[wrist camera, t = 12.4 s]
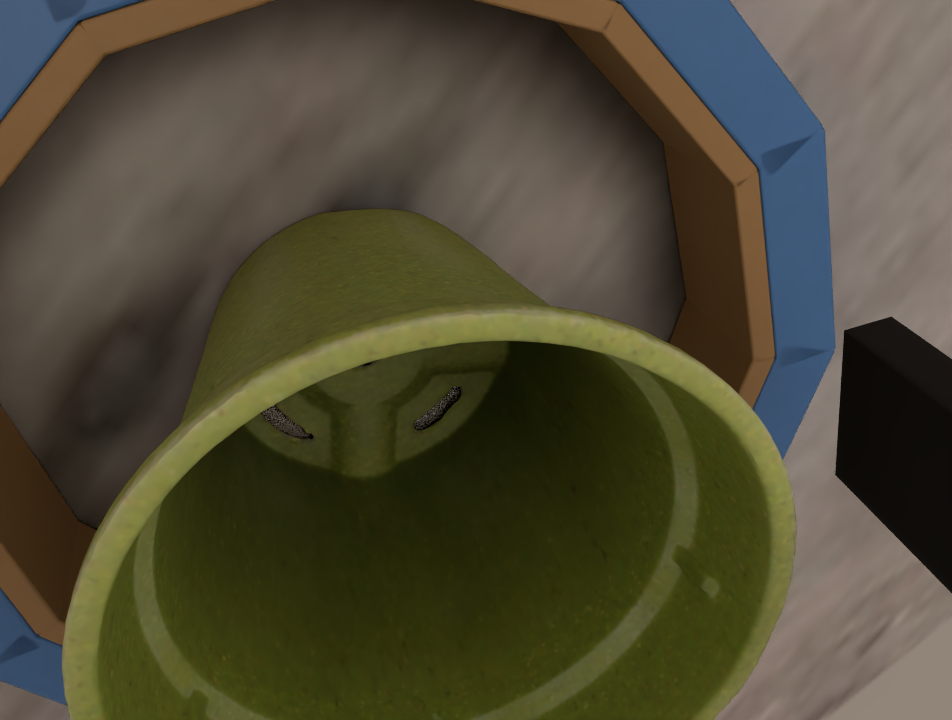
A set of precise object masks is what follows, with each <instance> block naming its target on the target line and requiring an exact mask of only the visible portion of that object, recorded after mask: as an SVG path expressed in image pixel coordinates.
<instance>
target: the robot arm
mask: <svg viewBox="0 0 952 720" xmlns="http://www.w3.org/2000/svg"><path fill="white" fill-rule="evenodd" d="M835 475H836V476H837V477H838V478H839V479H840V480H841V481H842V482H843V483H844V484H845V485H846V486H847V487H848V488H849V489H850V490H851V491H852V492H853V493H854V494H855V495H856V496H857V497H858V498H859V499H860V500H861V501H862V502H863V503H864V504H865V505H866V506H867V507H868V508H869V510H870V511H871V512H872V513H873V514H874V515H875V516H876V517H877V518H878V519H879V520H880V521H881V522H882V523H883V524H884V525H885V526H886V527H887V528H888V529H889V530H890V531H891V532H892V533H893V534H894V535H895V536H896V537H897V538H898V539H899V540H900V541H901V542H902V543H903V544H904V545H905V546H906V547H907V548H908V549H909V550H910V551H911V552H912V553H913V554H914V555H915V556H916V557H917V558H918V559H919V560H920V561H921V562H922V563H923V564H924V565H925V566H926V567H927V568H928V569H929V570H930V572H931V573H932V574H933V575H934V576H935V577H936V578H937V579H938V580H939V581H940V582H941V583H942V584H943V585H944V586H945V587H946V588H947V589H948V590H949V591H950V592H951V593H952V359H951V358H949V357H948V356H947V355H945V354H944V353H942V352H941V351H939V350H938V349H937V348H935V347H934V346H932V345H931V344H929V343H928V342H927V341H925V340H924V339H922V338H921V337H920V336H918V335H917V334H915V333H914V332H912V331H911V330H910V329H908V328H907V327H905V326H904V325H902V324H901V323H900V322H898V321H897V320H895V319H894V318H893V317H888V318H885V319H882V320H878V321H875V322H871V323H868V324H865V325H861V326H858V327H854V328H851V329H848V330H844V344H843V360H842V376H841V392H840V408H839V425H838V441H837V457H836V473H835Z"/></svg>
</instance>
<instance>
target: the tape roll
mask: <svg viewBox="0 0 952 720" xmlns="http://www.w3.org/2000/svg"><path fill="white" fill-rule="evenodd" d="M272 1H275V0H0V188H1V187H2V185H3V184H4V183H5V182H6V180H7V179H8V178H9V177H10V175H11V174H12V173H13V172H14V170H15V169H16V168H17V167H18V165H19V164H20V163H21V162H22V160H23V159H24V158H25V156H26V155H27V154H28V153H29V151H30V150H31V149H32V148H33V146H34V145H35V144H36V143H37V141H38V140H39V139H40V138H41V136H42V135H43V134H44V132H45V131H46V130H47V129H48V127H49V126H50V125H51V124H52V122H53V121H54V120H55V119H56V117H57V116H58V115H59V114H60V112H61V111H62V110H63V109H64V107H65V106H66V105H67V103H68V102H69V101H70V100H71V98H72V97H73V96H74V95H75V93H76V92H77V91H78V90H79V88H80V87H81V86H82V85H83V83H84V82H85V81H86V79H87V78H88V77H89V76H90V74H91V73H92V72H93V71H94V69H95V68H96V67H97V66H98V64H99V63H100V62H101V61H102V59H103V58H104V57H105V56H106V55H109V54H112V53H115V52H118V51H121V50H124V49H127V48H130V47H133V46H136V45H140V44H143V43H146V42H149V41H152V40H155V39H158V38H161V37H164V36H167V35H170V34H174V33H177V32H180V31H183V30H186V29H189V28H192V27H195V26H198V25H201V24H204V23H208V22H211V21H214V20H217V19H220V18H223V17H226V16H229V15H232V14H235V13H238V12H241V11H245V10H248V9H251V8H254V7H257V6H260V5H263V4H266V3H269V2H272ZM474 1H478V2H482V3H486V4H490V5H494V6H497V7H501V8H505V9H509V10H513V11H517V12H521V13H524V14H528V15H532V16H536V17H540V18H544V19H547V20H551V21H555V22H557V23H558V24H559V25H560V26H561V28H562V29H563V30H564V31H565V32H566V33H567V34H568V35H569V37H570V38H571V39H572V40H573V41H574V42H575V43H576V44H577V46H578V47H579V48H580V49H581V50H582V51H583V52H584V53H585V55H586V56H587V57H588V58H589V59H590V60H591V61H592V62H593V64H594V65H595V66H596V67H597V68H598V69H599V70H600V71H601V73H602V74H603V75H604V76H605V77H606V78H607V79H608V80H609V82H610V83H611V84H612V85H613V86H614V87H615V88H616V89H617V90H618V92H619V93H620V94H621V95H622V96H623V97H624V98H625V99H626V101H627V102H628V103H629V104H630V105H631V106H632V107H633V108H634V110H635V111H636V112H637V113H638V114H639V115H640V116H641V117H642V119H643V120H644V121H645V122H646V123H647V124H648V125H649V126H650V128H651V129H652V130H653V131H654V132H655V133H656V134H657V135H658V137H659V138H660V139H661V140H662V141H663V145H664V151H665V158H666V165H667V171H668V178H669V185H670V191H671V198H672V205H673V211H674V218H675V225H676V231H677V238H678V245H679V251H680V258H681V265H682V271H683V278H684V285H685V292H686V300H685V303H684V306H683V308H682V311H681V313H680V316H679V318H678V321H677V324H676V326H675V329H674V331H673V334H672V337H671V339H670V342H669V344H671V345H673V346H675V347H677V348H679V349H681V350H682V351H684V352H685V353H687V354H688V355H690V356H691V357H693V358H695V359H696V360H698V361H699V362H701V363H702V364H704V365H705V366H706V367H707V368H709V369H710V370H711V371H712V372H714V373H715V374H716V375H717V376H719V377H720V378H721V379H722V380H724V381H725V382H726V383H727V384H728V385H730V386H731V387H732V388H733V389H734V390H735V391H736V392H737V393H738V394H739V395H740V396H741V397H742V398H743V399H744V400H745V401H746V403H747V404H748V405H749V406H750V407H751V408H752V409H753V411H754V412H755V413H756V415H757V416H758V417H759V419H760V420H761V421H762V423H763V424H764V426H765V427H766V429H767V430H768V432H769V433H770V435H771V437H772V439H773V441H774V443H775V445H776V446H777V448H778V450H779V453H780V455H781V457H782V460H783V459H784V457H785V455H786V452H787V450H788V448H789V446H790V444H791V442H792V440H793V438H794V436H795V433H796V431H797V429H798V427H799V425H800V423H801V421H802V419H803V417H804V414H805V412H806V410H807V408H808V406H809V404H810V402H811V400H812V398H813V395H814V393H815V391H816V389H817V387H818V385H819V383H820V381H821V379H822V376H823V374H824V372H825V370H826V368H827V366H828V364H829V362H830V360H831V357H832V355H833V353H834V349H835V330H834V310H833V289H832V269H831V249H830V228H829V208H828V188H827V167H826V147H825V130H824V128H823V127H822V124H821V123H820V121H819V120H818V119H817V117H816V116H815V115H814V113H813V112H812V111H811V109H810V108H809V107H808V105H807V104H806V103H805V101H804V100H803V99H802V97H801V96H800V94H799V93H798V92H797V90H796V89H795V88H794V86H793V85H792V84H791V82H790V81H789V80H788V78H787V77H786V76H785V74H784V73H783V72H782V70H781V69H780V68H779V66H778V65H777V64H776V62H775V61H774V60H773V58H772V57H771V56H770V54H769V53H768V52H767V50H766V49H765V48H764V46H763V45H762V44H761V42H760V41H759V40H758V38H757V37H756V36H755V34H754V33H753V31H752V30H751V29H750V27H749V26H748V25H747V23H746V22H745V21H744V19H743V18H742V17H741V15H740V14H739V13H738V11H737V10H736V9H735V7H734V6H733V5H732V3H731V2H730V1H729V0H474ZM96 531H97V530H95V529H93V528H91V527H89V526H87V525H85V524H83V523H81V522H79V521H78V520H77V519H76V517H75V516H74V514H73V513H72V511H71V510H70V508H69V507H68V505H67V504H66V502H65V501H64V499H63V498H62V496H61V495H60V493H59V492H58V490H57V489H56V487H55V486H54V484H53V483H52V481H51V480H50V478H49V477H48V475H47V474H46V472H45V471H44V469H43V468H42V466H41V465H40V463H39V462H38V460H37V459H36V457H35V456H34V454H33V453H32V451H31V450H30V448H29V447H28V445H27V444H26V442H25V441H24V439H23V438H22V436H21V435H20V433H19V432H18V431H17V429H16V428H15V426H14V425H13V423H12V422H11V420H10V419H9V417H8V416H7V414H6V413H5V411H4V410H3V408H2V407H1V405H0V681H2V682H5V683H8V684H10V685H13V686H16V687H18V688H21V689H24V690H26V691H29V692H32V693H34V694H37V695H40V696H42V697H45V698H48V699H50V700H53V701H56V702H58V703H61V704H64V705H66V706H67V704H66V700H65V695H64V684H63V674H62V649H63V640H64V633H65V626H66V618H67V614H68V610H69V606H70V602H71V598H72V594H73V590H74V587H75V583H76V580H77V577H78V574H79V571H80V568H81V566H82V563H83V560H84V557H85V555H86V553H87V550H88V548H89V546H90V544H91V541H92V539H93V537H94V535H95V533H96Z"/></svg>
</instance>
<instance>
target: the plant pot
mask: <svg viewBox="0 0 952 720" xmlns="http://www.w3.org/2000/svg"><path fill="white" fill-rule="evenodd" d="M372 361H373V362H372ZM368 362H372V364H370V365H368V366H360V365H362V364H365V363H368ZM453 386H459V387H460V390H461V397H460V398H459V399H458V400H457V401H456V402H455V403H454V404H453V406H452V407H451V408H450V409H449V410H448V411H447V412H446V413H445V415H444V416H443V417H442V418H441V419H440V420H439V421H438V422H436V423H435V424H433V425H432V426H430V427H429V428H426V429H424V430H417V429H415V428H414V422H415V421H416V420H417V419H418V418H420V417H422V416H423V415H424V414H425V413H426V412H427V411H428V410H430V409H432V408H433V407H434V406H435V405H436V404H437V403H438V402H439V401H440V400H441V399H443V397H444V396H446V395H447V394H448V392H449V391H450V389H451V388H452V387H453ZM274 404H275V405H276V406H277V408H278V409H279V410H280V411H281V412H283V413H284V414H285V415H286V416H287V417H288V418H290V419H291V420H292V421H293V422H295V423H296V424H297V425H298V426H301V427H303V428H304V429H305V432H306V433H308V434H309V433H311V434H312V435H313V437H314V438H313V439H312V440H311V439H300V438H296V437H293V436H290V435H288V434H285V433H283V432H281V431H280V430H278V429H276V428H274V427H273V426H272V425H271V424H270V423H269V422H268V421H267V420H266V419H265V418H264V417H263V414H262V411H264V410H266V409H268V408H269V407H271V406H273V405H274ZM795 544H796V516H795V507H794V499H793V494H792V488H791V485H790V481H789V476H788V473H787V470H786V467H785V464H784V462H783V460H782V457H781V455H780V453H779V450H778V448H777V446H776V445H775V443H774V441H773V439H772V437H771V435H770V433H769V432H768V430H767V429H766V427H765V426H764V424H763V423H762V421H761V420H760V419H759V417H758V416H757V415H756V413H755V412H754V411H753V409H752V408H751V407H750V406H749V405H748V404H747V403H746V401H745V400H744V399H743V398H742V397H741V396H740V395H739V394H738V393H737V392H736V391H735V390H734V389H733V388H732V387H731V386H730V385H728V384H727V383H726V382H725V381H724V380H722V379H721V378H720V377H719V376H717V375H716V374H715V373H714V372H712V371H711V370H710V369H709V368H707V367H706V366H705V365H704V364H702V363H701V362H699V361H698V360H696V359H695V358H693V357H691V356H690V355H688V354H687V353H685V352H684V351H682V350H681V349H679V348H677V347H675V346H673V345H671V344H669V343H667V342H665V341H663V340H661V339H659V338H657V337H655V336H653V335H651V334H649V333H647V332H645V331H643V330H640V329H638V328H635V327H632V326H630V325H627V324H625V323H622V322H619V321H615V320H612V319H608V318H605V317H602V316H598V315H595V314H591V313H588V312H583V311H577V310H571V309H566V308H560V307H554V306H549V305H548V304H547V303H545V302H544V301H543V300H541V299H540V298H539V297H537V296H536V295H535V294H534V293H532V292H531V291H529V290H528V289H527V288H525V287H524V286H523V285H521V284H520V283H519V282H518V281H516V280H515V279H514V278H512V277H511V276H510V275H509V274H507V273H506V272H505V271H503V270H502V269H501V268H500V267H499V266H498V265H496V264H495V263H494V262H493V261H491V260H490V259H489V258H488V257H487V256H485V255H484V254H483V253H482V252H481V251H479V250H478V249H476V248H475V247H474V246H472V245H471V244H469V243H468V242H467V241H465V240H464V239H463V238H462V237H460V236H459V235H458V234H456V233H454V232H453V231H451V230H450V229H448V228H447V227H445V226H443V225H441V224H440V223H438V222H436V221H434V220H431V219H429V218H427V217H425V216H422V215H419V214H417V213H413V212H409V211H405V210H394V209H358V210H347V211H338V212H326V213H320V214H318V215H315V216H312V217H309V218H306V219H304V220H301V221H299V222H297V223H295V224H293V225H291V226H289V227H288V228H286V229H284V230H282V231H280V232H279V233H278V234H276V235H275V236H273V237H272V238H270V239H269V240H267V241H266V242H264V243H263V244H262V245H261V246H260V247H259V248H258V249H257V250H256V251H255V252H253V253H252V254H251V255H250V256H249V258H248V259H247V260H246V261H245V262H244V263H243V264H242V265H241V266H240V268H239V269H238V271H237V272H236V273H235V275H234V276H233V278H232V279H231V281H230V283H229V284H228V286H227V288H226V290H225V292H224V293H223V295H222V297H221V299H220V301H219V304H218V306H217V309H216V311H215V315H214V319H213V322H212V325H211V328H210V332H209V335H208V338H207V341H206V345H205V348H204V351H203V355H202V358H201V361H200V364H199V368H198V371H197V374H196V377H195V380H194V383H193V387H192V390H191V393H190V396H189V399H188V402H187V405H186V408H185V411H184V414H183V418H182V421H181V424H180V426H179V427H178V428H177V429H175V430H174V431H173V432H172V433H171V434H170V435H169V436H168V437H167V438H166V439H165V440H164V441H163V442H162V443H161V444H160V445H159V446H158V447H157V448H156V449H155V450H154V451H153V452H152V453H151V454H150V456H149V457H148V458H147V459H146V460H145V461H144V462H143V464H142V465H141V466H140V467H139V469H138V470H137V471H136V472H135V473H134V475H133V476H132V477H131V478H130V480H129V481H128V482H127V483H126V484H125V486H124V487H123V489H122V490H121V492H120V493H119V495H118V496H117V498H116V499H115V501H114V502H113V504H112V505H111V507H110V509H109V510H108V512H107V514H106V515H105V517H104V519H103V521H102V522H101V524H100V526H99V528H98V529H97V531H96V533H95V535H94V537H93V539H92V541H91V544H90V546H89V548H88V550H87V553H86V555H85V557H84V560H83V563H82V566H81V568H80V571H79V574H78V577H77V580H76V583H75V587H74V590H73V594H72V598H71V602H70V606H69V610H68V614H67V618H66V626H65V633H64V640H63V649H62V674H63V684H64V695H65V700H66V704H67V708H68V711H69V715H70V719H71V720H714V719H715V717H716V716H717V714H718V713H719V712H721V711H722V710H723V709H724V708H725V707H726V706H727V705H728V704H729V703H730V701H731V700H732V698H733V697H734V696H735V695H736V694H737V693H738V692H739V691H740V690H741V688H742V687H743V685H744V684H745V682H746V681H747V679H748V677H749V676H750V674H751V673H752V671H753V669H754V668H755V666H756V665H757V663H758V661H759V659H760V657H761V655H762V653H763V651H764V649H765V647H766V645H767V643H768V641H769V638H770V636H771V634H772V632H773V629H774V627H775V625H776V622H777V620H778V618H779V616H780V614H781V612H782V609H783V607H784V604H785V601H786V597H787V593H788V589H789V585H790V581H791V576H792V569H793V561H794V556H795Z"/></svg>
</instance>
